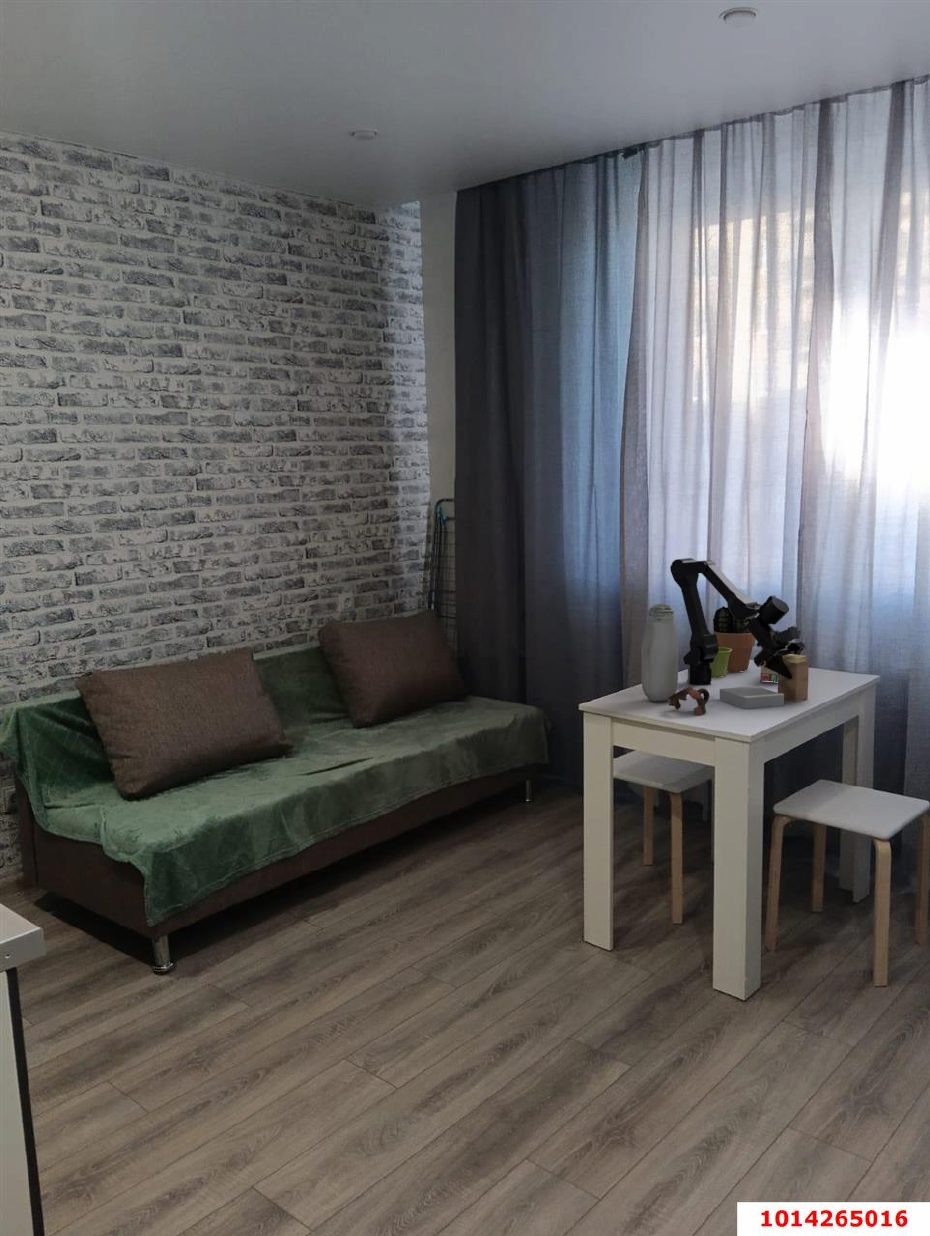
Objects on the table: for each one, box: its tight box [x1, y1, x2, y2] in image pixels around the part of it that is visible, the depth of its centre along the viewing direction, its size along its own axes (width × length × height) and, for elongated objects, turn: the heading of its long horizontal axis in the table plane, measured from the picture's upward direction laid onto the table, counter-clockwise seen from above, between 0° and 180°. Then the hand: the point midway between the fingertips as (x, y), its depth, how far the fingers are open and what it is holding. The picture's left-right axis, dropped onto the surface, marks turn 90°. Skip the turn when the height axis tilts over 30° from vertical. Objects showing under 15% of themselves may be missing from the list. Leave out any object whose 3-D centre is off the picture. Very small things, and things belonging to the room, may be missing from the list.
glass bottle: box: [640, 603, 680, 703], centre depth 300 cm, size 10×10×28 cm
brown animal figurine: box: [668, 685, 711, 717], centre depth 287 cm, size 12×10×8 cm
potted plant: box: [712, 605, 756, 673], centre depth 345 cm, size 14×14×25 cm
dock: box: [719, 685, 785, 710], centre depth 297 cm, size 14×12×3 cm
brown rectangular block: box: [777, 654, 810, 703], centre depth 300 cm, size 6×6×12 cm
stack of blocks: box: [759, 640, 793, 682], centre depth 333 cm, size 21×6×12 cm, turn 147°
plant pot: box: [709, 647, 732, 678], centre depth 337 cm, size 9×9×9 cm
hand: (797, 676), depth 299 cm, fingers closed on brown rectangular block, 6 cm apart
